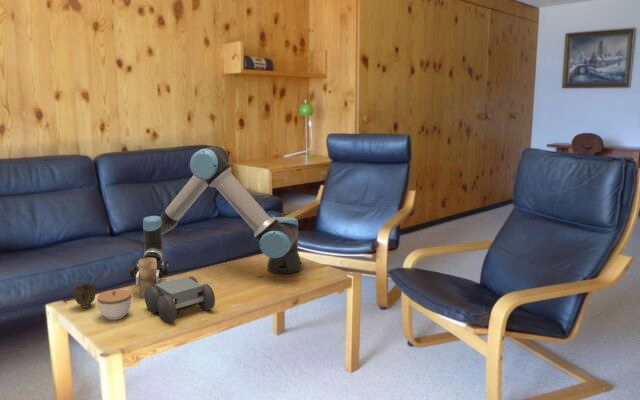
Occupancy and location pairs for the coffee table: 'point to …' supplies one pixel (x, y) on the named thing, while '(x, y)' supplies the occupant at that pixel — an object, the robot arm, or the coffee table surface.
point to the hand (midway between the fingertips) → (147, 279)
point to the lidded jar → (114, 303)
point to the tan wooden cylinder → (147, 273)
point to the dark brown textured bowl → (84, 294)
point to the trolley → (178, 296)
